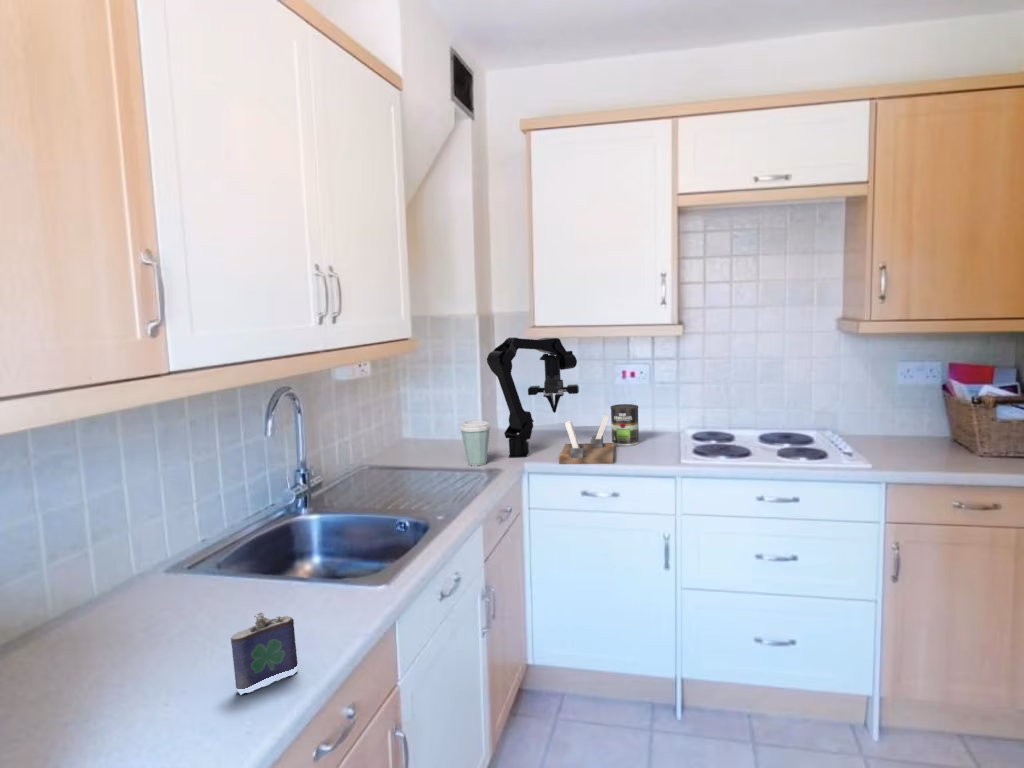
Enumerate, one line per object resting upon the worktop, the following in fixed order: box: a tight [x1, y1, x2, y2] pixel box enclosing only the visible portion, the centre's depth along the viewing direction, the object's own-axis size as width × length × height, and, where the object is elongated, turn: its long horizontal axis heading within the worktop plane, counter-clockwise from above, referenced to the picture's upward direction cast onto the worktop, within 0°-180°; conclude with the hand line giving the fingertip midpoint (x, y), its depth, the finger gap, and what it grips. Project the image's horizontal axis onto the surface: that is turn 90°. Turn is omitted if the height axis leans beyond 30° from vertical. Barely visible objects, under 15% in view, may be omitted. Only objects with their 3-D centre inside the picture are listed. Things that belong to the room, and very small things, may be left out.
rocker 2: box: [595, 413, 610, 439], centre depth 235 cm, size 2×4×12 cm, turn 170°
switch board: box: [558, 434, 615, 465], centre depth 229 cm, size 18×22×5 cm
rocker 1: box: [564, 420, 580, 448], centre depth 223 cm, size 2×4×12 cm, turn 170°
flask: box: [230, 612, 299, 689], centre depth 99 cm, size 9×3×11 cm, turn 129°
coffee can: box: [610, 403, 640, 447], centre depth 246 cm, size 10×10×14 cm
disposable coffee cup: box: [459, 420, 491, 467], centre depth 226 cm, size 11×11×15 cm
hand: (554, 412), depth 246 cm, fingers closed
